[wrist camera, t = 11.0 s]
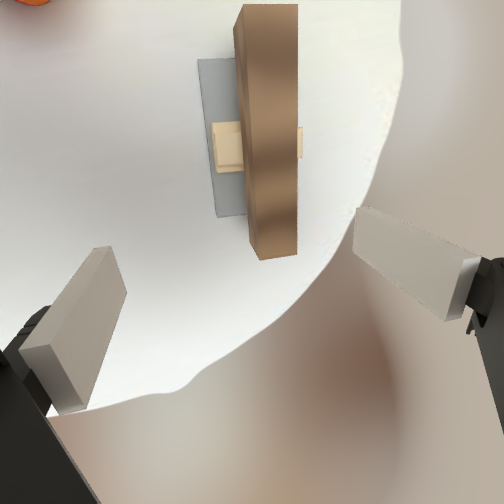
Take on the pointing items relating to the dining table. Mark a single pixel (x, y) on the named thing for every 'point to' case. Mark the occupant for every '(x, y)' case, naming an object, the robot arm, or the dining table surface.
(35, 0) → the coffee cup
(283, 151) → the bar
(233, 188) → the fulcrum
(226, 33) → the dining table surface
